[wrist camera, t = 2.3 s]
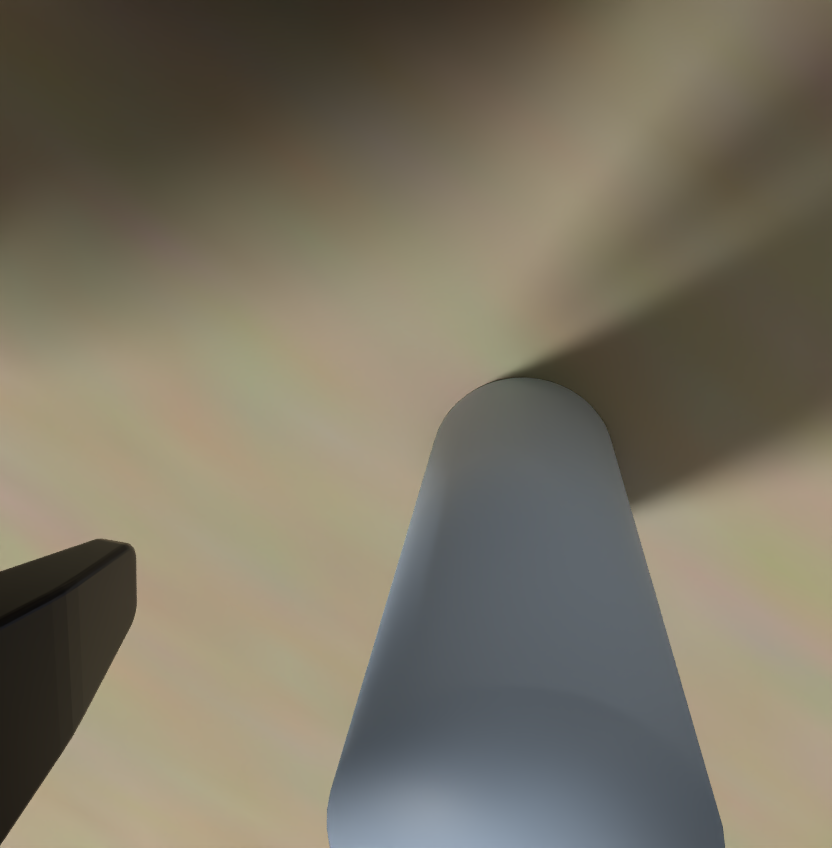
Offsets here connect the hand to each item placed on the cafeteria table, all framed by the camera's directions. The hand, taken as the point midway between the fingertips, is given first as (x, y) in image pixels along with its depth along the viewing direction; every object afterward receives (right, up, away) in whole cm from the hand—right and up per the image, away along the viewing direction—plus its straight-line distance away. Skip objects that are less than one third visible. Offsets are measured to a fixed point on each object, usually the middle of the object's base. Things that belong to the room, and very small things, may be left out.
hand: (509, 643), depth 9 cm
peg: (+1, +2, +5) cm, 5 cm away
